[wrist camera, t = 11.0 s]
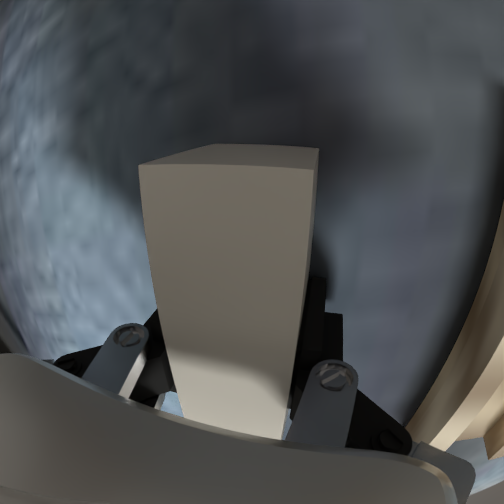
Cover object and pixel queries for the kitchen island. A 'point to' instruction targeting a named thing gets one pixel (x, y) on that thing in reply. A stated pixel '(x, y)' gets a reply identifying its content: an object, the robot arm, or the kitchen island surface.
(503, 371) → the rack
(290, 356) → the strip
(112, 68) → the kitchen island surface
